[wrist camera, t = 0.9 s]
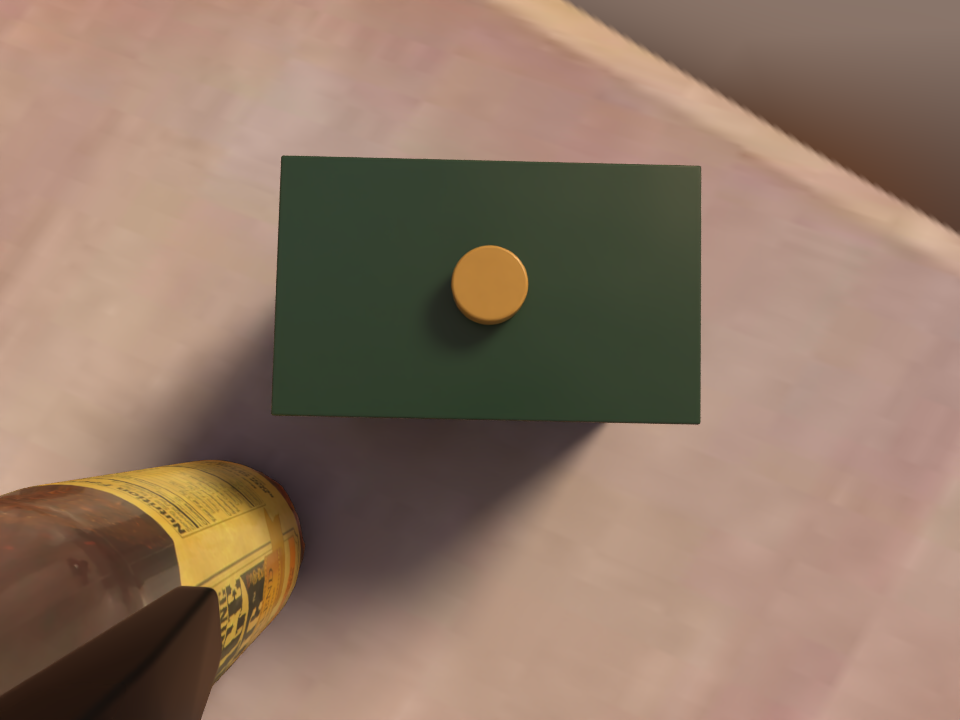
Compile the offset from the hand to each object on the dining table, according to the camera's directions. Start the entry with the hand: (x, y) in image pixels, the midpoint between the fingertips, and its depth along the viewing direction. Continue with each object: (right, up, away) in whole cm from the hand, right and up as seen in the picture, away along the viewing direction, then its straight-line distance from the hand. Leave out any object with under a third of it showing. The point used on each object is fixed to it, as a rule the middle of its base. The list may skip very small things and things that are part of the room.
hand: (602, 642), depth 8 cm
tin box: (-1, +5, +17) cm, 17 cm away
